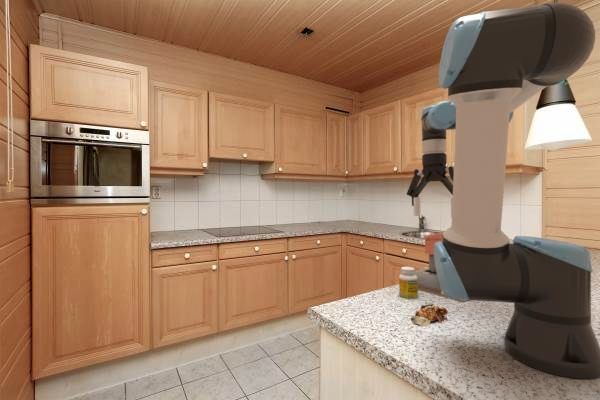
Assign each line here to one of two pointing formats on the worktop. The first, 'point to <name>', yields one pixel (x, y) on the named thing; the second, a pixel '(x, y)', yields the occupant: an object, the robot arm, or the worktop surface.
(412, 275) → the supplement bottle
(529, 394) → the worktop surface
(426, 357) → the worktop surface
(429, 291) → the board
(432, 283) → the eye block
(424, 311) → the brown mottled lumpy part
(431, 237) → the copper link bar
